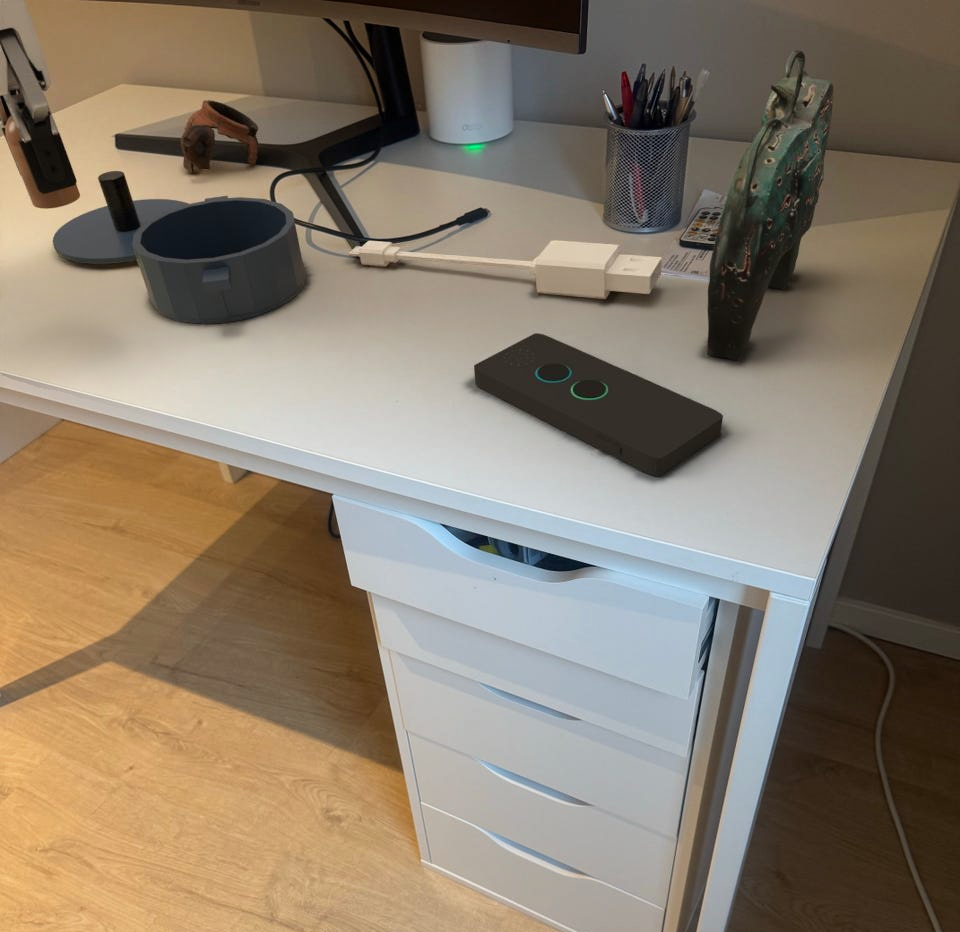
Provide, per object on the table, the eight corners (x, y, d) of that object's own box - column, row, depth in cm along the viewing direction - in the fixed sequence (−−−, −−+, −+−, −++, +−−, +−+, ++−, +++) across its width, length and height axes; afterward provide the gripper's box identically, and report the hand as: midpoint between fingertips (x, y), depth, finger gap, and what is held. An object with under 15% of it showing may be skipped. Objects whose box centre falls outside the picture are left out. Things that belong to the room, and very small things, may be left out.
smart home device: (538, 329, 79) (728, 412, 68) (539, 347, 80) (725, 432, 69) (468, 365, 75) (657, 459, 64) (470, 384, 76) (655, 479, 65)
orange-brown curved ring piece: (197, 156, 122) (214, 93, 118) (258, 192, 123) (278, 131, 119) (151, 162, 112) (167, 93, 108) (218, 202, 113) (238, 135, 109)
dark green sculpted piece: (750, 262, 89) (788, 22, 75) (817, 272, 87) (869, 27, 72) (684, 356, 77) (715, 93, 63) (759, 371, 75) (809, 101, 61)
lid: (47, 278, 96) (20, 214, 92) (65, 220, 108) (42, 160, 103) (204, 256, 98) (185, 192, 93) (205, 201, 109) (189, 141, 105)
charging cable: (366, 257, 97) (361, 225, 95) (661, 281, 86) (663, 246, 84) (344, 277, 94) (337, 245, 92) (647, 304, 83) (648, 269, 81)
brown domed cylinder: (29, 211, 77) (-8, 120, 72) (36, 195, 79) (1, 106, 74) (77, 204, 77) (44, 113, 72) (82, 188, 80) (50, 99, 75)
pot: (146, 347, 84) (124, 285, 80) (157, 256, 99) (139, 200, 94) (312, 322, 86) (300, 260, 82) (299, 236, 100) (287, 180, 96)
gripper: (-135, -92, 67) (-21, 169, 81) (-84, -73, 58) (36, 221, 71) (-33, -107, 70) (61, 148, 83) (32, -92, 60) (127, 195, 74)
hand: (48, 179), depth 77 cm, fingers closed on brown domed cylinder, 4 cm apart
